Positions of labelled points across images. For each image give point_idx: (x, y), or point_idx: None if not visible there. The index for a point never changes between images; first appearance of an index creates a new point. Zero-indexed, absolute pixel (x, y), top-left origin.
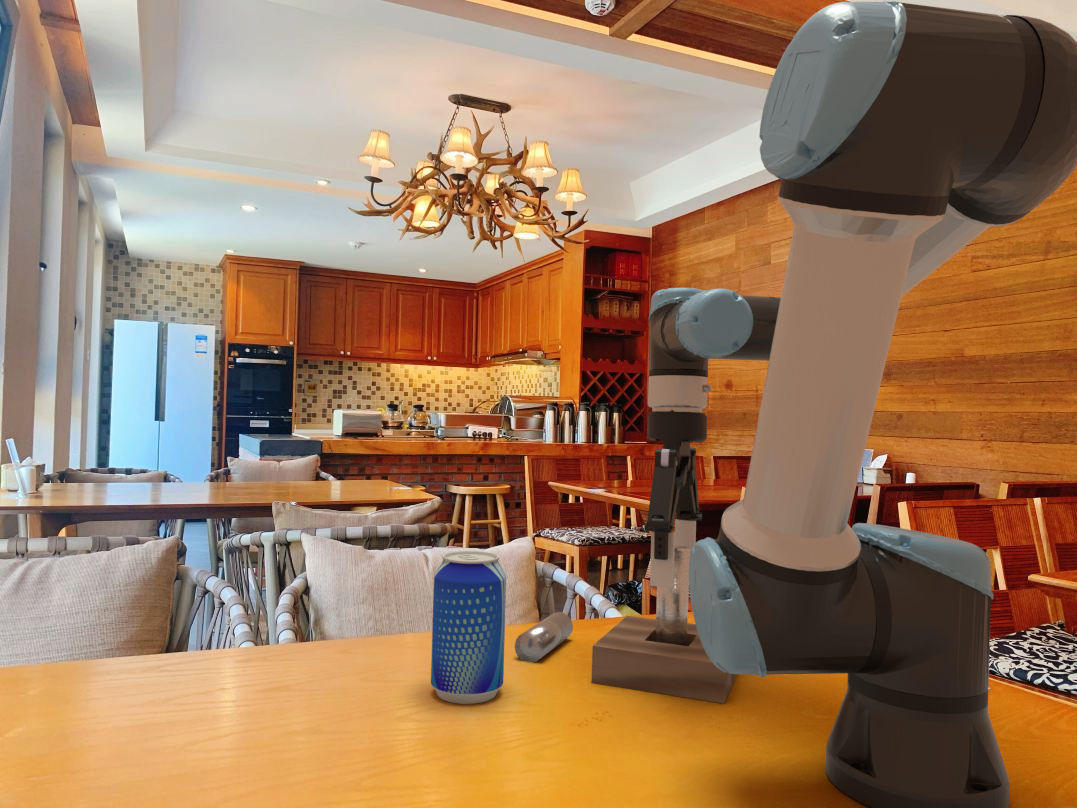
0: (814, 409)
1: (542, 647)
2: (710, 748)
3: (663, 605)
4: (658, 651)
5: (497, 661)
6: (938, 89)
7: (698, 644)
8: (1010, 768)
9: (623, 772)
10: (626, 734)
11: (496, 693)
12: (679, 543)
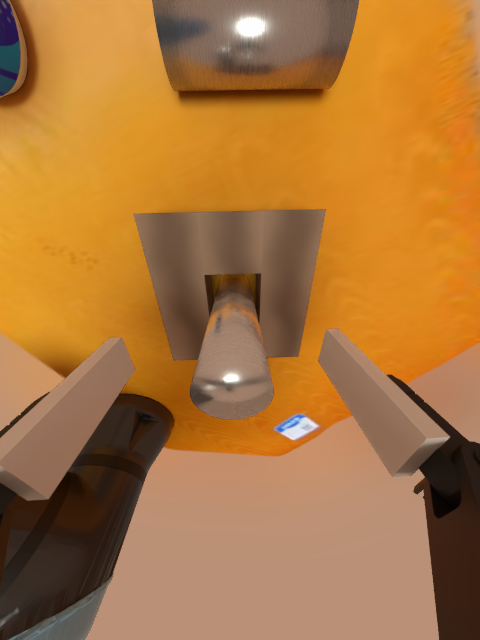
0: None
1: (170, 83)
2: (98, 345)
3: (210, 314)
4: (171, 301)
5: None
6: None
7: None
8: (183, 440)
9: (10, 308)
10: (67, 292)
11: (9, 93)
12: (357, 376)
